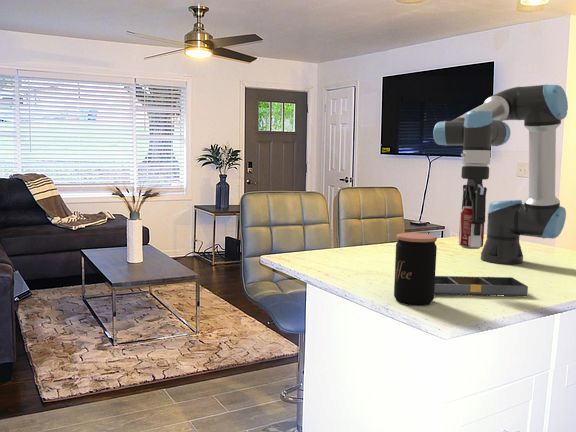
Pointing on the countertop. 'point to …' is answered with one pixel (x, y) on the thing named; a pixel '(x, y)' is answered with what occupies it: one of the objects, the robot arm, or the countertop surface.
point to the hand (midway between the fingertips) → (471, 244)
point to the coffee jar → (415, 269)
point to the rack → (479, 286)
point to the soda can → (467, 228)
